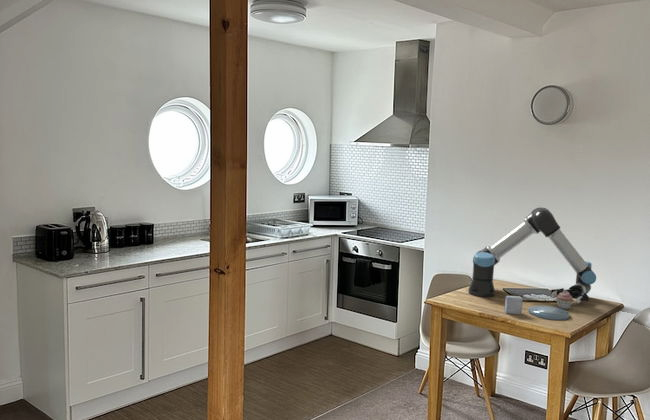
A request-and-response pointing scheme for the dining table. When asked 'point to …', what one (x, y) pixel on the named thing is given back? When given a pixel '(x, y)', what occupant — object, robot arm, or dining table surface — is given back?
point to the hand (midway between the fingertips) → (564, 298)
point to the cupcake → (564, 300)
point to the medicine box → (513, 304)
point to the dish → (549, 312)
